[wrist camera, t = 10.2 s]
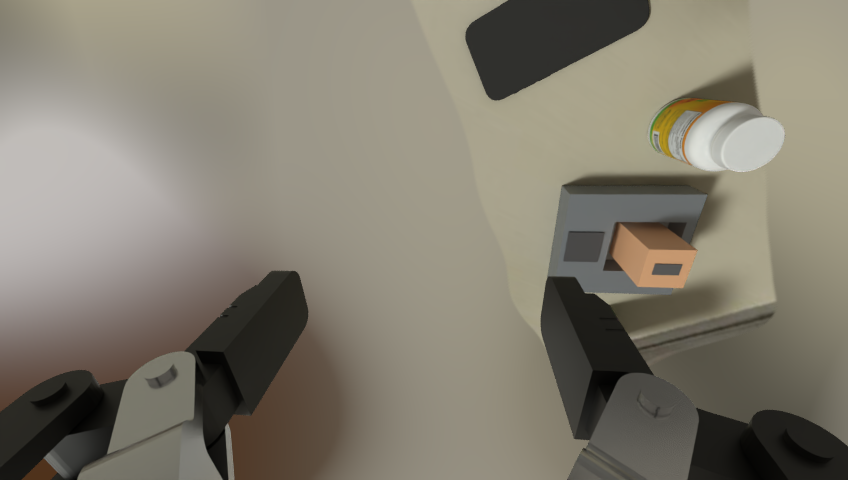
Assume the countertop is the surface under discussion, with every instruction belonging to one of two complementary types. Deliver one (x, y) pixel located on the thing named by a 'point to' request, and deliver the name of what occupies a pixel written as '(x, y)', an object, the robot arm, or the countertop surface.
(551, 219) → the countertop surface
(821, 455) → the robot arm
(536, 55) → the phone
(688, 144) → the supplement bottle
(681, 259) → the block
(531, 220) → the countertop surface
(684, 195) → the plate
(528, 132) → the countertop surface
